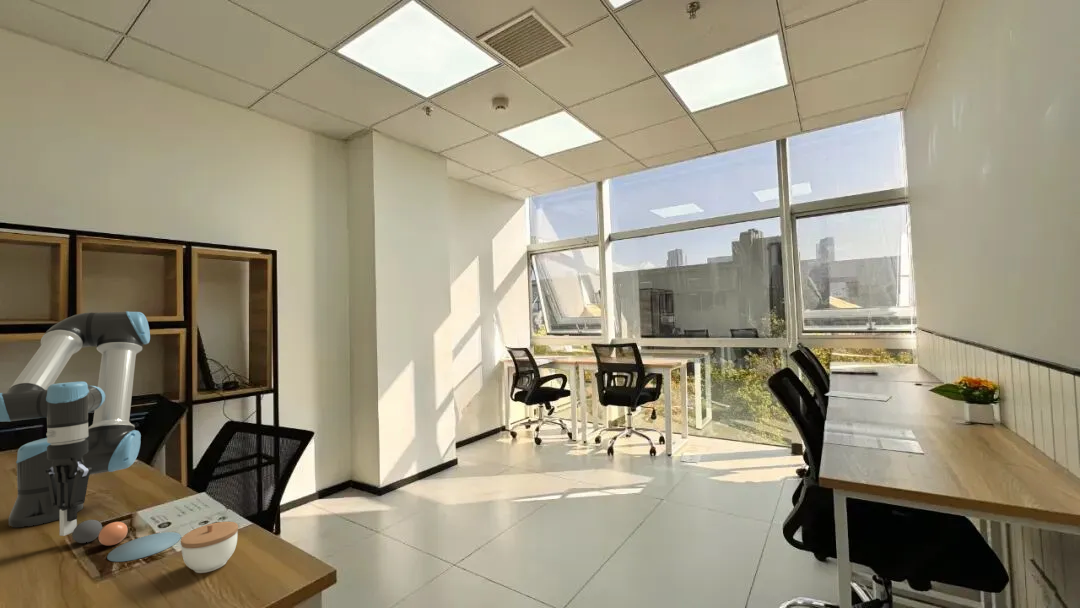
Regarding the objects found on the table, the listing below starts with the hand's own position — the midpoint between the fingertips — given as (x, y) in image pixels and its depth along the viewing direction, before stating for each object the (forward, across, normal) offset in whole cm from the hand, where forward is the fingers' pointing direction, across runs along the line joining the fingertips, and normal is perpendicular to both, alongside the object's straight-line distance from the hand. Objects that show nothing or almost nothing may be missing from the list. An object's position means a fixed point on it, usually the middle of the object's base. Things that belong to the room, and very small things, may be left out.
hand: (68, 533), depth 117 cm
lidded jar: (+4, +48, -2) cm, 48 cm away
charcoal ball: (0, +4, +2) cm, 4 cm away
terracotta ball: (0, +13, +2) cm, 13 cm away
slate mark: (+3, +22, +2) cm, 23 cm away
